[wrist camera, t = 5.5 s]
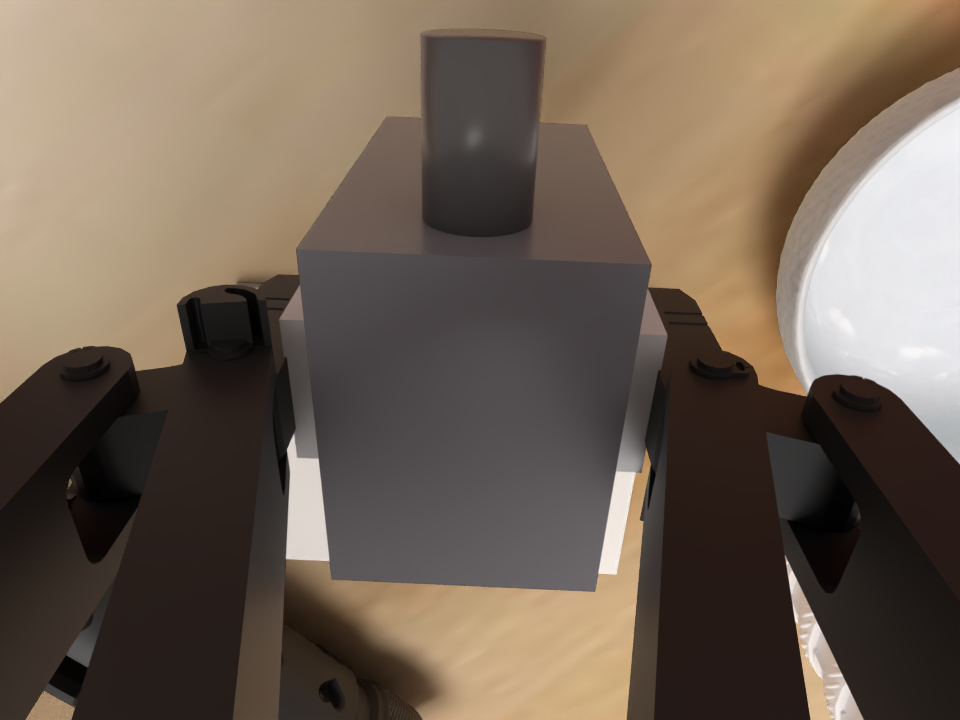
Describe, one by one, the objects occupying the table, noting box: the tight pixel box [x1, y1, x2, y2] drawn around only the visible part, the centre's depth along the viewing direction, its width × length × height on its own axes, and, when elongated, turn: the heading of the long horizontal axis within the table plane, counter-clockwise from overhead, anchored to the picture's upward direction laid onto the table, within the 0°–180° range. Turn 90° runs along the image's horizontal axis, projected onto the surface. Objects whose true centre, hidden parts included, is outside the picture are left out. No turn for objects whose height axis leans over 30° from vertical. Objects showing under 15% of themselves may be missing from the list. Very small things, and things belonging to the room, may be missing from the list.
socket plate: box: [236, 282, 636, 574], centre depth 36 cm, size 20×16×3 cm
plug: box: [296, 29, 652, 592], centre depth 13 cm, size 8×4×8 cm, turn 178°
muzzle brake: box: [44, 575, 422, 720], centre depth 42 cm, size 10×28×10 cm, turn 40°
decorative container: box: [785, 556, 864, 720], centre depth 32 cm, size 12×12×18 cm
